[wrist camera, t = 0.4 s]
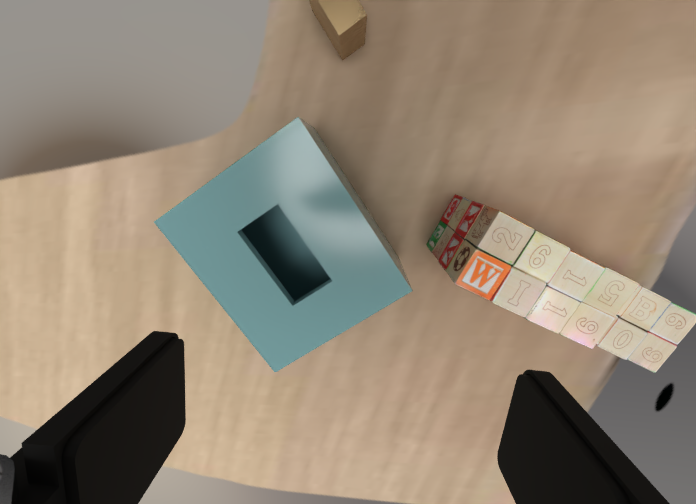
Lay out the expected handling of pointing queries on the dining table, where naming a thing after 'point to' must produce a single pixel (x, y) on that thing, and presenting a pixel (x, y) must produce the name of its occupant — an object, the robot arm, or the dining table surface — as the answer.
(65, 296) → the dining table surface
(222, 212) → the coin box
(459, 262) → the stack of blocks
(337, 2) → the tan flat block
